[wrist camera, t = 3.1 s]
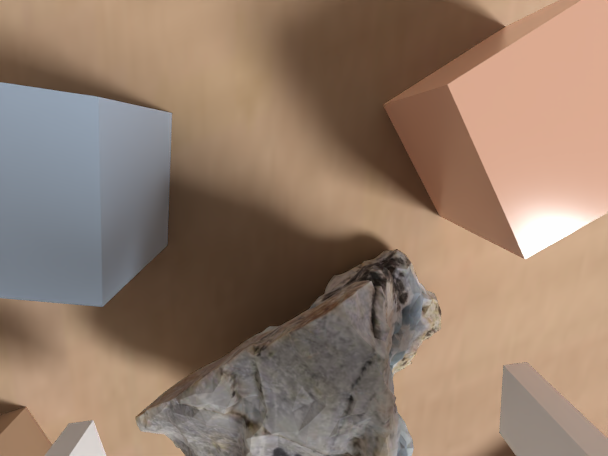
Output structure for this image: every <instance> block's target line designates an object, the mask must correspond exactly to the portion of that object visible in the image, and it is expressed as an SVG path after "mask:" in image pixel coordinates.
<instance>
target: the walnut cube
mask: <svg viewBox="0 0 608 456" xmlns="http://www.w3.org/2000/svg"><path fill="white" fill-rule="evenodd" d="M51 446H52V444H51V443H50V441H49V440H48V438H47V437H46V435H45V434H44V432H43V431H42V429H41V428H40V426H39V425H38V423H37V422H36V420H35V419H34V417H33V416H32V415H31V413H30V412H29V410H28V409H27V407H24V408H21V409H18V410H14V411H11V412H8V413H4V414H1V415H0V456H45V454H46V453H47V452H48V450H49V449H50V448H51Z"/></svg>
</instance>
